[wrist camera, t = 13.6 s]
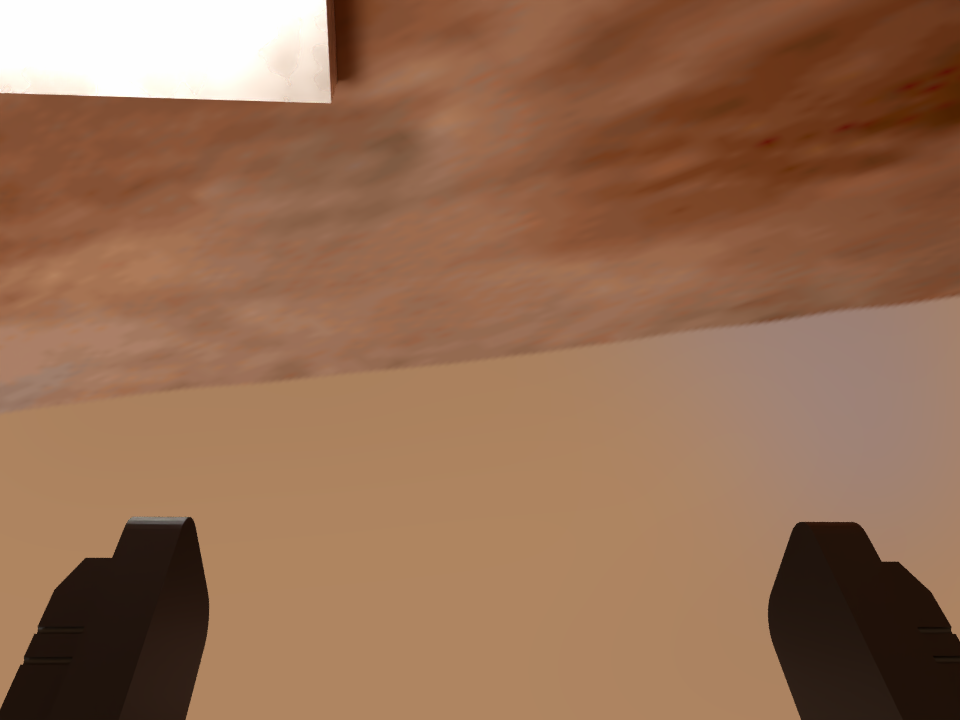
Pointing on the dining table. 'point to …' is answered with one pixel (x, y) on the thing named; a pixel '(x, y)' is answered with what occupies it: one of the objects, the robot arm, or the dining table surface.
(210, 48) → the square slotted board
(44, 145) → the dining table surface
